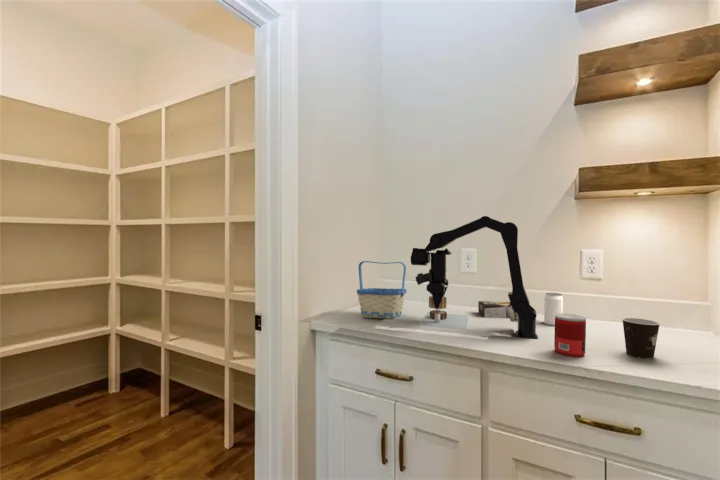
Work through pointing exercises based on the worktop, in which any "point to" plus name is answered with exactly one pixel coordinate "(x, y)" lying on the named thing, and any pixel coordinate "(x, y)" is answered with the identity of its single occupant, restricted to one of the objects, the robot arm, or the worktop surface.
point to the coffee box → (497, 310)
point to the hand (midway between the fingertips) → (437, 306)
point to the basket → (381, 299)
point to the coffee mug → (640, 337)
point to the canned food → (570, 335)
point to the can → (552, 307)
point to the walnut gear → (442, 313)
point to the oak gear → (442, 304)
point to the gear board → (446, 321)
